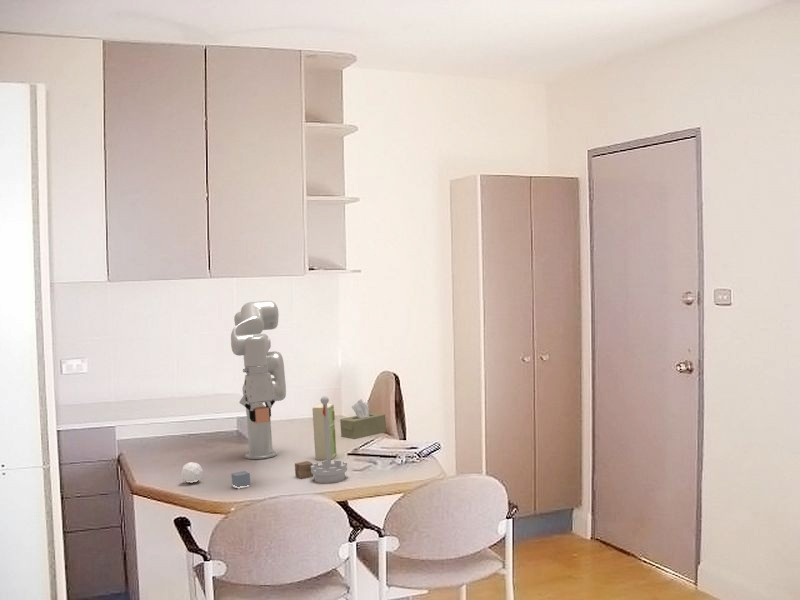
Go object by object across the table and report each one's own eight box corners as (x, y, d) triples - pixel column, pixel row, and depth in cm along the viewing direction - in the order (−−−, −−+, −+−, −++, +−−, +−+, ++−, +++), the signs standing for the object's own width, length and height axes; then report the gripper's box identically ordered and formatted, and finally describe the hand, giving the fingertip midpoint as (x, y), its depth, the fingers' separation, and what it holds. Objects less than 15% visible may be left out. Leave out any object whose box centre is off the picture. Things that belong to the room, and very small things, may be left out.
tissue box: (373, 429, 413) (371, 395, 412) (387, 432, 406) (384, 397, 405) (340, 437, 401) (338, 401, 400) (354, 439, 393) (351, 403, 392)
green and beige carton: (333, 460, 355) (329, 407, 354) (315, 460, 357) (311, 407, 356) (338, 455, 363) (335, 403, 362) (321, 455, 364) (317, 404, 363)
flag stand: (315, 475, 332) (310, 394, 331) (350, 473, 331) (345, 392, 329) (308, 484, 319) (302, 400, 318) (344, 482, 318) (339, 398, 316)
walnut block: (295, 476, 332) (294, 463, 332) (308, 474, 334) (307, 460, 334) (300, 479, 328) (300, 465, 327) (313, 476, 330) (312, 463, 330)
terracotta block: (251, 421, 329) (250, 408, 328) (264, 419, 331) (263, 406, 331) (256, 423, 324) (255, 409, 324) (269, 421, 327) (268, 407, 326)
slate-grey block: (232, 487, 322) (231, 473, 322) (245, 484, 325) (244, 470, 324) (237, 489, 318) (236, 475, 317) (250, 487, 320) (249, 473, 320)
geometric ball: (187, 491, 331) (174, 473, 332) (204, 478, 336) (191, 461, 337) (192, 484, 326) (179, 466, 327) (209, 472, 331) (196, 454, 332)
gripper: (238, 374, 319) (241, 424, 320) (283, 368, 328) (286, 418, 329) (231, 372, 326) (234, 422, 327) (275, 366, 334) (278, 415, 335)
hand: (260, 419), depth 328 cm, fingers closed on terracotta block, 5 cm apart
